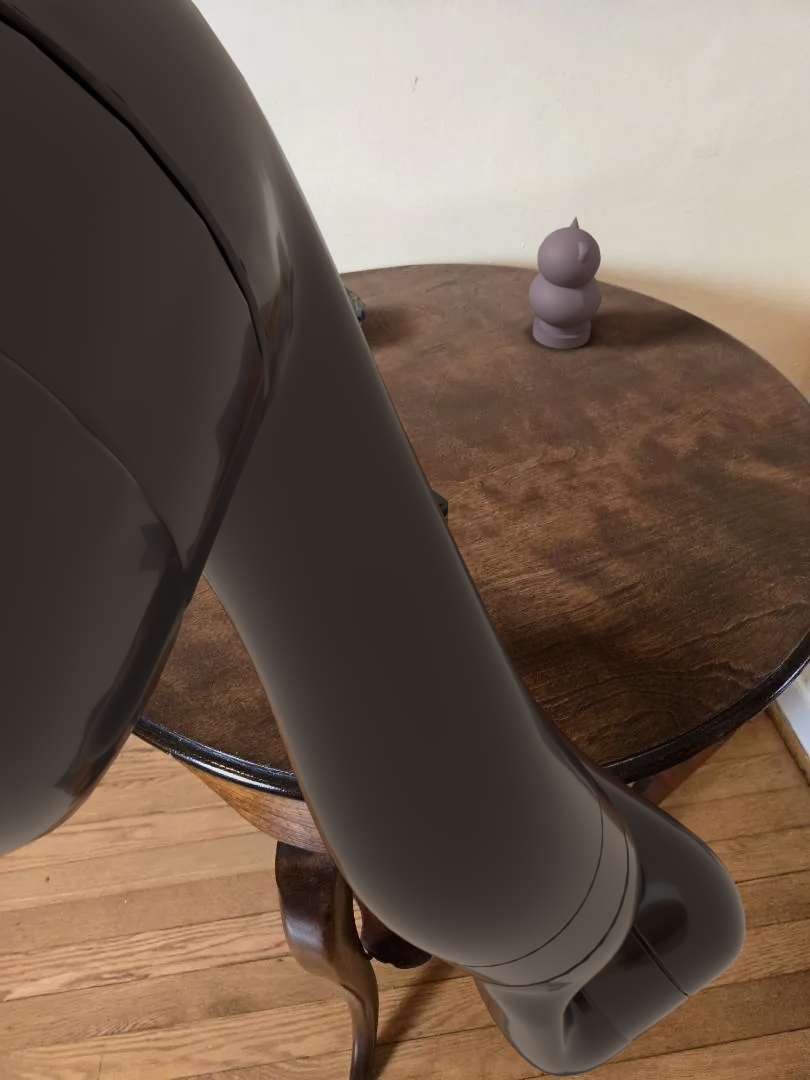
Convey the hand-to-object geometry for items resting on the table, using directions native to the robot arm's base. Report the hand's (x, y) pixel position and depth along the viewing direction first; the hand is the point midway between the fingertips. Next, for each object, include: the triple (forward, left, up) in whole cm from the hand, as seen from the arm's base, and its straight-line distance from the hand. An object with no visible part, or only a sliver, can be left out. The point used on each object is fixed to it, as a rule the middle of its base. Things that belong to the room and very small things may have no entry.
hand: (281, 461), depth 54 cm
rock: (+33, +28, -16) cm, 46 cm away
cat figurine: (+49, +6, -16) cm, 52 cm away
